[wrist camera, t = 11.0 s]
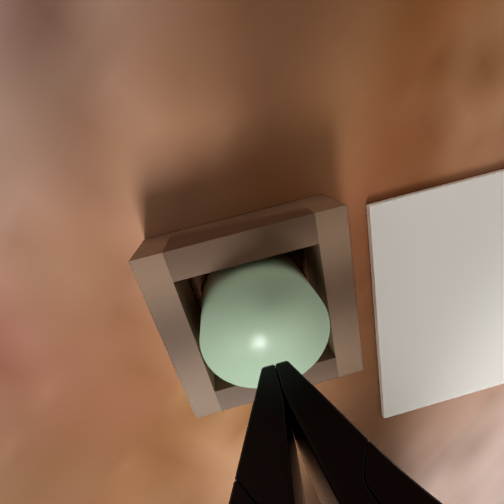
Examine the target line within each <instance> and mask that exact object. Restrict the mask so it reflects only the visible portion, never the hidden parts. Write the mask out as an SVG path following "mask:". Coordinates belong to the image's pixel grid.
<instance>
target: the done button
mask: <svg viewBox="0 0 504 504" xmlns="http://www.w3.org/2000/svg"><path fill="white" fill-rule="evenodd" d="M329 334H330V319H329V315H328V312H327V309H326V307H325V305H324V303H323V302H322V300H321V299H320V297H319V296H318V295H317V293H316V292H315V290H314V289H313V287H312V286H311V285H310V283H309V282H308V280H307V279H306V278H305V276H304V275H303V273H302V272H301V271H300V269H299V268H298V267H297V265H296V264H295V263H294V262H293V261H292V260H291V259H289V258H288V257H286V256H285V255H283V254H278V255H275V256H271V257H267V258H263V259H260V260H256V261H252V262H248V263H244V264H241V265H237V266H233V267H229V268H226V269H222V270H218V271H214V272H211V273H210V274H209V276H208V278H207V280H206V282H205V285H204V288H203V294H202V308H201V323H200V349H201V352H202V356H203V358H204V360H205V362H206V363H207V365H208V366H209V368H210V369H211V370H212V371H213V372H214V373H215V374H216V375H217V376H219V377H220V378H222V379H223V380H225V381H227V382H229V383H231V384H234V385H237V386H241V387H246V388H257V385H258V381H259V377H260V373H261V369H262V368H263V367H265V366H269V365H276V363H280V362H283V361H288V362H290V363H291V364H292V365H293V366H294V367H295V368H296V369H297V370H298V371H299V372H300V373H301V374H303V373H305V372H306V371H307V370H309V369H310V368H311V367H312V366H313V365H314V364H315V363H316V361H317V360H318V359H319V358H320V356H321V355H322V353H323V351H324V349H325V347H326V345H327V342H328V338H329ZM275 368H276V367H275Z"/></svg>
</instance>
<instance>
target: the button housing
mask: <svg viewBox="0 0 504 504" xmlns="http://www.w3.org/2000/svg"><path fill="white" fill-rule="evenodd" d="M301 248H304V253H305V259H306V265H307V271H308V277H309V282H310V285H311V286H312V287H313V289H314V290H315V292H316V293H317V295H318V296H319V297H320V299H321V300H322V302H323V303H324V305H325V307H326V309H327V312H328V315H329V319H330V334H329V338H328V342H327V345H326V347H325V349H324V351H323V353H322V355H321V356H320V358H319V359H318V360H317V361H316V363H315V364H314V365H313V366H312V367H311V368H310V369H309V370H307V371H306V372H305V373H303V374H302V375H303V376H304V377H305V378H306V379H307V380H308V381H309V382H310V383H311V384H312V385H314V384H317V383H321V382H324V381H328V380H331V379H335V378H338V377H342V376H345V375H349V374H352V373H356V372H359V371H363V362H362V352H361V342H360V333H359V323H358V313H357V303H356V293H355V283H354V273H353V263H352V253H351V244H350V234H349V224H348V214H347V205H346V204H343V203H341V202H339V201H336V200H334V199H332V198H330V197H327V196H325V195H323V194H320V195H316V196H312V197H308V198H304V199H300V200H296V201H293V202H289V203H285V204H281V205H277V206H273V207H269V208H265V209H262V210H258V211H254V212H250V213H246V214H242V215H238V216H234V217H230V218H227V219H223V220H219V221H215V222H211V223H207V224H203V225H199V226H195V227H192V228H188V229H184V230H180V231H176V232H172V233H168V234H164V235H160V236H157V237H153V238H149V239H145V240H144V241H143V242H142V244H141V245H140V246H139V248H138V249H137V251H136V252H135V253H134V255H133V256H132V257H131V259H130V260H129V264H130V266H131V269H132V271H133V273H134V276H135V278H136V280H137V283H138V285H139V287H140V290H141V292H142V294H143V297H144V299H145V301H146V303H147V306H148V308H149V310H150V313H151V315H152V317H153V320H154V322H155V324H156V327H157V329H158V331H159V334H160V336H161V338H162V340H163V343H164V345H165V347H166V350H167V352H168V354H169V357H170V359H171V361H172V364H173V366H174V368H175V371H176V373H177V375H178V377H179V380H180V382H181V384H182V387H183V389H184V391H185V394H186V396H187V398H188V401H189V403H190V405H191V408H192V410H193V412H194V414H195V417H196V418H199V417H202V416H206V415H209V414H212V413H216V412H219V411H223V410H226V409H230V408H233V407H237V406H240V405H244V404H247V403H251V402H254V398H255V393H256V389H257V388H246V387H241V386H237V385H234V384H231V383H229V382H227V381H225V380H223V379H222V378H220V377H219V376H217V375H216V374H215V373H214V372H213V371H212V370H211V369H210V368H209V366H208V365H207V363H206V362H205V360H204V358H203V356H202V352H201V349H200V323H201V314H200V312H199V309H198V306H197V303H196V300H195V297H194V295H193V292H192V289H191V286H190V283H189V280H188V278H192V277H195V276H199V275H203V274H207V273H210V272H214V271H218V270H222V269H226V268H229V267H233V266H237V265H241V264H244V263H248V262H252V261H256V260H260V259H263V258H267V257H271V256H275V255H278V254H282V253H286V252H290V251H294V250H297V249H301Z"/></svg>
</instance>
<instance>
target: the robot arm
mask: <svg viewBox="0 0 504 504" xmlns="http://www.w3.org/2000/svg"><path fill="white" fill-rule="evenodd" d="M275 367H276V368H275ZM292 430H293V431H292ZM293 434H294V435H293ZM294 437H295V439H294ZM295 440H296V443H297V446H298V448H299V451H300V454H301V456H302V459H303V461H304V464H305V466H306V469H307V471H308V474H309V476H310V479H311V481H312V484H313V486H314V489H315V491H316V494H317V496H318V499H319V501H320V504H442V503H441V502H440V501H439V500H437V499H436V498H435V497H434V496H432V495H431V494H430V493H429V492H427V491H426V490H425V489H424V488H422V487H421V486H420V485H419V484H418V483H416V482H415V481H414V480H413V479H412V478H410V477H409V476H408V475H407V474H406V473H404V472H403V471H402V470H401V469H400V468H399V467H398V466H397V465H395V464H394V463H393V462H392V461H391V460H390V459H389V458H388V457H387V456H386V455H385V454H384V453H382V452H381V451H380V450H379V449H378V448H377V447H376V446H375V445H374V444H373V443H372V442H371V441H369V440H368V438H367V437H366V436H365V435H364V434H363V433H362V432H361V431H360V430H359V429H358V428H357V427H355V426H354V425H353V424H352V423H351V422H350V421H349V420H348V419H347V418H346V417H345V416H344V415H343V414H342V413H341V412H340V411H339V410H338V409H337V408H336V407H335V406H334V405H333V404H332V403H331V402H330V401H329V400H328V399H327V398H326V397H325V396H324V395H323V394H322V393H320V392H319V391H318V390H317V389H316V388H315V387H314V386H313V385H312V384H311V383H310V382H309V381H308V380H307V379H306V378H305V377H304V376H303V375H302V374H301V373H300V372H299V371H298V370H297V369H296V368H295V367H294V366H293V365H292V364H291V363H290V362H288V361H283V362H280V363H276V365H269V366H265V367H263V368H262V369H261V373H260V377H259V381H258V385H257V389H256V393H255V398H254V402H253V406H252V410H251V414H250V418H249V423H248V427H247V431H246V435H245V439H244V443H243V448H242V452H241V456H240V460H239V464H238V468H237V472H236V477H235V480H236V481H235V482H234V484H233V489H232V493H231V497H230V501H229V504H305V498H304V492H303V485H302V479H301V473H300V467H299V461H298V455H297V449H296V443H295Z"/></svg>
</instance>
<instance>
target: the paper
mask: <svg viewBox="0 0 504 504" xmlns="http://www.w3.org/2000/svg"><path fill="white" fill-rule="evenodd" d="M366 211H367V224H368V237H369V251H370V264H371V278H372V291H373V304H374V318H375V331H376V345H377V358H378V372H379V385H380V398H381V412H382V416H383V417H384V419H385V418H388V417H391V416H395V415H398V414H402V413H405V412H408V411H412V410H415V409H419V408H422V407H425V406H429V405H432V404H436V403H439V402H442V401H446V400H449V399H453V398H456V397H459V396H463V395H466V394H470V393H473V392H476V391H480V390H483V389H487V388H490V387H493V386H497V385H500V384H504V169H501V170H497V171H493V172H489V173H485V174H482V175H478V176H474V177H470V178H466V179H462V180H459V181H455V182H451V183H447V184H443V185H439V186H436V187H432V188H428V189H424V190H420V191H416V192H413V193H409V194H405V195H401V196H397V197H393V198H390V199H386V200H382V201H378V202H374V203H370V204H367V205H366Z"/></svg>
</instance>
